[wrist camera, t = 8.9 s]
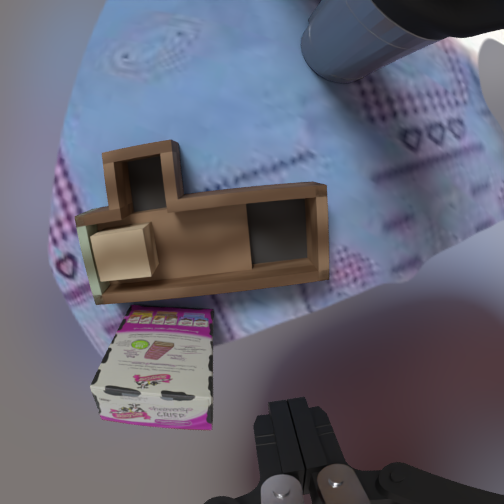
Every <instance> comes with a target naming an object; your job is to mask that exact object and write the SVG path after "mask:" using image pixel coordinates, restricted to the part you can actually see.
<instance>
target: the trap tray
mask: <svg viewBox="0 0 504 504" xmlns="http://www.w3.org/2000/svg"><path fill="white" fill-rule="evenodd" d="M102 159H103V168H104V176H105V184H106V191H107V198H108V205H109V206H107V207H101V208H96V209H91V210H89V211H87V212H84V213H82V214H79V215H77V216H75V222H76V227H77V232H78V237H79V242H80V246H81V251H82V255H83V260H84V264H85V268H86V272H87V276H88V279H89V283H90V287H91V290H92V294H93V297H94V301H95V304H96V305H101V304H115V303H127V302H139V301H151V300H162V299H173V298H183V297H193V296H202V295H212V294H221V293H230V292H238V291H247V290H255V289H263V288H271V287H279V286H287V285H294V284H301V283H309V282H316V281H323V280H329V232H328V203H327V185H325V184H321V183H316V182H300V183H287V184H274V185H263V186H252V187H242V188H233V189H224V190H215V191H207V192H199V193H191V194H184V190H183V181H182V173H181V164H180V154H179V144H178V143H177V142H175V141H173V140H165V141H159V142H154V143H148V144H143V145H137V146H132V147H127V148H122V149H118V150H113V151H109V152H104V153H102ZM149 221H152V227H153V233H154V239H155V245H156V250H157V256H158V261H159V265H158V266H157V268H156V270H155V271H154V273H153V275H152V276H151V277H142V278H132V279H122V280H113V281H103V282H101V281H100V277H99V273H98V269H97V265H96V261H95V257H94V252H93V248H92V243H91V238H90V237H91V236H92V235H94V234H95V233H97V232H99V231H100V230H102V229H104V228H109V227H115V226H122V225H128V224H135V223H142V222H149Z"/></svg>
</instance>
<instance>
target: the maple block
mask: <svg viewBox="0 0 504 504" xmlns="http://www.w3.org/2000/svg"><path fill="white" fill-rule="evenodd" d="M90 238H91V243H92V248H93V252H94V257H95V261H96V265H97V269H98V273H99V277H100V281H101V282H103V281H113V280H122V279H132V278H142V277H151V276H152V275H153V273H154V271H155V270H156V268H157V266H158V265H159V261H158V256H157V250H156V245H155V239H154V233H153V227H152V221H149V222H142V223H135V224H128V225H122V226H115V227H109V228H104V229H102V230H100V231H99V232H97V233H95V234H94V235H92V236H91V237H90Z"/></svg>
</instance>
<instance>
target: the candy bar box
mask: <svg viewBox="0 0 504 504" xmlns="http://www.w3.org/2000/svg"><path fill="white" fill-rule="evenodd" d="M90 388H91V391H92V394H93V397H94V399H95V402H96V405H97V408H98V409H99V415H100V417H101V419H102V420H107V421H113V422H120V423H127V424H134V425H142V426H150V427H162V428H174V429H188V430H212V425H213V309H198V308H172V307H156V306H141V305H131V306H130V308H129V309H128V311H127V313H126V315H125V317H124V319H123V321H122V323H121V324H120V326H119V328H118V331H117V332H116V334H115V336H114V338H113V341H112V342H111V344H110V346H109V348H108V350H107V352H106V354H105V356H104V358H103V360H102V362H101V364H100V367H99V369H98V371H97V372H96V375H95V377H94V379H93V381H92V383H91V385H90Z"/></svg>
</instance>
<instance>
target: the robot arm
mask: <svg viewBox="0 0 504 504" xmlns="http://www.w3.org/2000/svg"><path fill="white" fill-rule="evenodd" d="M308 21H309V26H308V27H307V29H306V30H305V32H304V33H303V36H302V39H301V50H302V53H303V56H304V59H305V60H306V62H307V63H308V65H309V66H310V67H311V68H312V69H313V70H314V71H315V72H316V73H317V74H319V75H320V76H322V77H323V78H325V79H327V80H330V81H333V82H337V83H350V82H354V81H356V80H358V79H361V78H363V77H364V76H366V75H368V74H370V73H372V72H374V71H376V70H378V69H380V68H382V67H384V66H386V65H388V64H390V63H392V62H394V61H396V60H398V59H400V58H402V57H404V56H406V55H409V54H411V53H413V52H415V51H417V50H419V49H422V48H424V47H426V46H428V45H430V44H433V43H435V42H437V41H440V40H442V39H444V38H447V37H456V38H467V37H472V36H476V35H479V34H483V33H487V32H491V31H496V30H500V29H504V0H322V1H321V2H320V4H319V5H318V6H317V8H316V9H315V11H314V12H313V14H312V15H311V17H310V18H309V20H308ZM268 406H269V414H268V415H260V416H257V418H256V421H255V423H254V434H255V442H256V450H257V457H258V464H259V471H260V482H259V484H258V486H257V487H256V488H255V489H254V490H253V491H251V492H250V493H248V494H246V495H243V496H240V497H238V498H235V499H233V498H230V497H226V496H219V497H214V498H211V499H209V500H208V501H206V502H205V503H204V504H304V499H303V495H304V494H309V493H310V496H311V500H312V504H504V495H500V494H496V493H492V492H488V491H484V490H481V489H477V488H474V487H470V486H467V485H463V484H460V483H457V482H454V481H451V480H448V479H445V478H442V477H439V476H437V475H433V474H431V473H428V472H426V471H423V470H420V469H418V468H415V467H413V466H410V465H408V464H405V463H400V462H396V463H391V464H389V465H387V466H385V467H384V468H383V469H382V470H379V471H361V470H357V469H354V468H352V467H351V466H349V465H348V464H347V463H346V461H345V459H344V457H343V454H342V451H341V449H340V446H339V444H338V441H337V439H336V436H335V434H334V431H333V428H332V426H331V424H330V421H329V418H328V416H327V414H326V413H325V412H324V411H323V410H322V409H321V408H320V407H319V406H317V407H312V408H309V407H308V405H307V401H306V399H305V397H300V398H294V399H287V401H286V400H281V401H274V402H268Z"/></svg>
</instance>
